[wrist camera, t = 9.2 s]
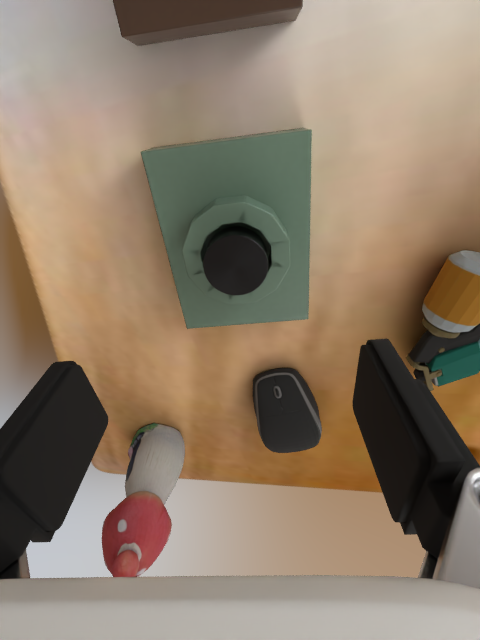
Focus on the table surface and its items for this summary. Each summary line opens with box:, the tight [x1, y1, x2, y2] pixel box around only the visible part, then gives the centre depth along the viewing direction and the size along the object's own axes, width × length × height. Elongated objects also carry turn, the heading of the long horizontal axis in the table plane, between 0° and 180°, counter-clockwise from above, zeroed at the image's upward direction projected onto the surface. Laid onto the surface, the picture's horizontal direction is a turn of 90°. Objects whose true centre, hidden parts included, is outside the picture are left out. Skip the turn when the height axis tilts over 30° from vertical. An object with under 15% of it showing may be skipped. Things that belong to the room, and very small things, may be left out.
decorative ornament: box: [102, 423, 185, 577], centre depth 32 cm, size 9×6×15 cm
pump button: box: [203, 226, 268, 295], centre depth 19 cm, size 4×4×2 cm
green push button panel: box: [141, 128, 312, 329], centre depth 21 cm, size 13×10×4 cm
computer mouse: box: [253, 368, 322, 453], centre depth 32 cm, size 7×12×4 cm, turn 17°
